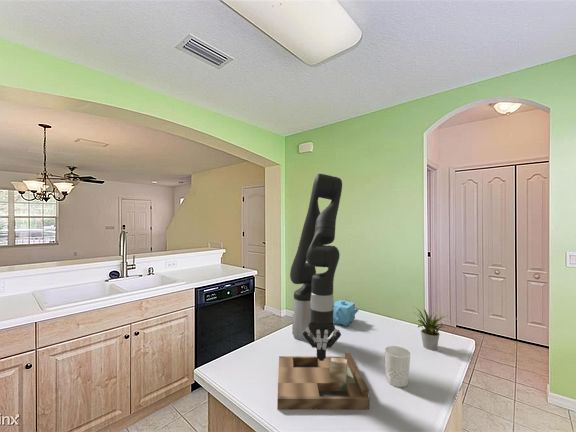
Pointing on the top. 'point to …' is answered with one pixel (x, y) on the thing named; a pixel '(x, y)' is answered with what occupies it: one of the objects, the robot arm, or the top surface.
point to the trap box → (319, 385)
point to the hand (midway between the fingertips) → (321, 359)
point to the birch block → (338, 370)
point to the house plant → (429, 331)
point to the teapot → (344, 312)
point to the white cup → (397, 365)
